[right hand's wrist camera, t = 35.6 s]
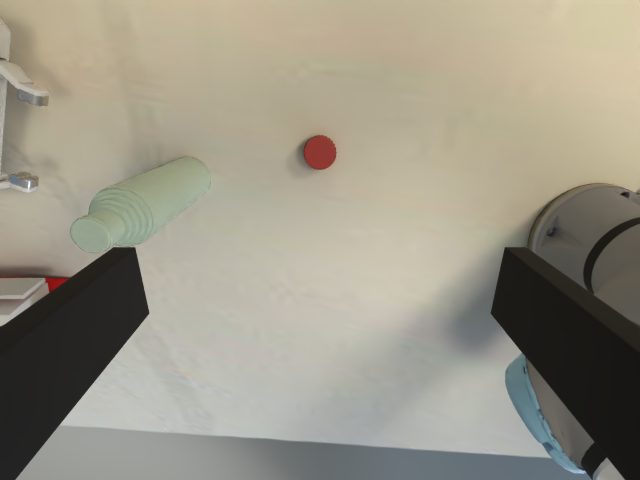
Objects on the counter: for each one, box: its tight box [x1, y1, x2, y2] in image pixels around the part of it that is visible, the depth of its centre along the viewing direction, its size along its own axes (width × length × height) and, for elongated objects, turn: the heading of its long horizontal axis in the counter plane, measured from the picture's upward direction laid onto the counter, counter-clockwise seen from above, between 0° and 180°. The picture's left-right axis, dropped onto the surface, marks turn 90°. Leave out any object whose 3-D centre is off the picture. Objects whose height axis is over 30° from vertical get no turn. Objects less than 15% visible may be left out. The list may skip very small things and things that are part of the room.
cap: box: [304, 135, 336, 170], centre depth 44 cm, size 4×4×2 cm
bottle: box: [70, 157, 211, 253], centre depth 36 cm, size 5×5×22 cm
